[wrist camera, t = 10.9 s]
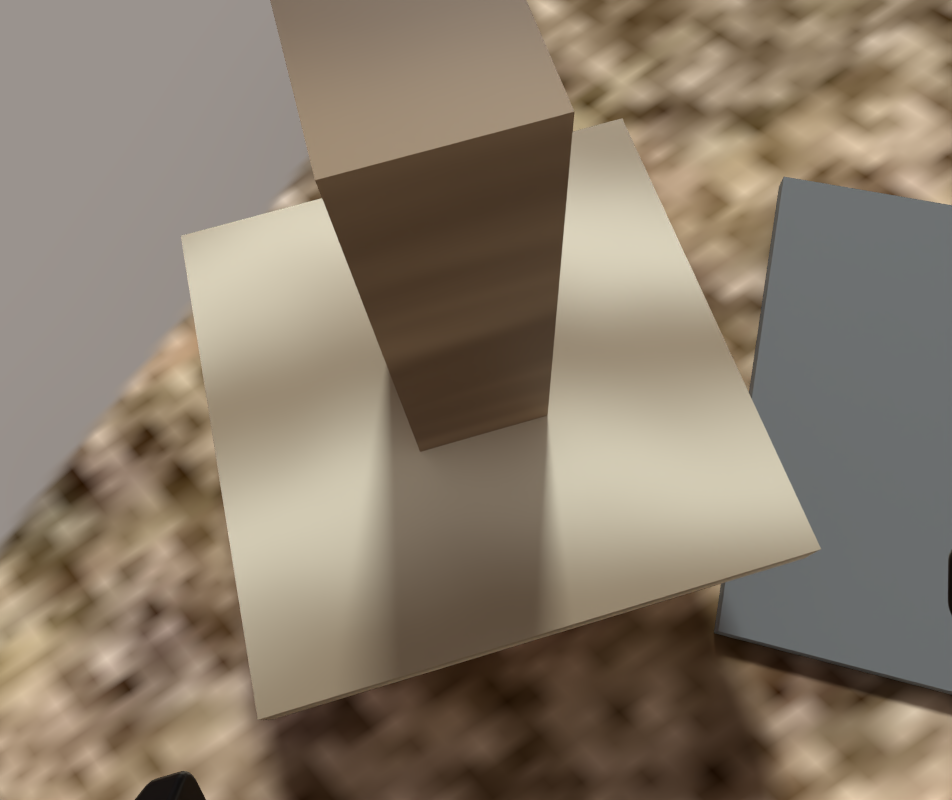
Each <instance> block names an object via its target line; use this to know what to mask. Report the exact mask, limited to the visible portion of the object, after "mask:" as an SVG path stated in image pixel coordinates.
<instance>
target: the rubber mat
mask: <svg viewBox="0 0 952 800" xmlns="http://www.w3.org/2000/svg"><path fill="white" fill-rule="evenodd" d="M749 394H750V396H751V399H752V401H753V403H754V405H755V407H756V409H757V412H758V414H759V416H760V418H761V420H762V422H763V424H764V427H765V429H766V431H767V433H768V435H769V437H770V440H771V442H772V444H773V446H774V448H775V450H776V453H777V455H778V457H779V459H780V461H781V463H782V466H783V468H784V470H785V472H786V474H787V476H788V479H789V481H790V483H791V485H792V487H793V489H794V492H795V494H796V496H797V498H798V500H799V502H800V505H801V507H802V509H803V511H804V513H805V515H806V518H807V520H808V522H809V524H810V526H811V528H812V530H813V533H814V535H815V537H816V539H817V541H818V543H819V546H820V548H821V550H819V551H817V552H815V553H813V554H811V555H810V556H808V557H806V558H804V559H800V560H797V561H794V562H791V563H787V564H784V565H781V566H777V567H774V568H771V569H767V570H764V571H761V572H758V573H754V574H751V575H748V576H744V577H741V578H738V579H734V580H731V581H728V582H725V583H721V588H720V595H719V602H718V609H717V616H716V623H715V629H714V633H716V634H720V635H724V636H727V637H731V638H735V639H739V640H743V641H747V642H751V643H754V644H758V645H762V646H766V647H770V648H774V649H778V650H781V651H785V652H789V653H793V654H797V655H801V656H805V657H808V658H812V659H816V660H820V661H824V662H828V663H832V664H835V665H839V666H843V667H847V668H851V669H855V670H859V671H862V672H866V673H870V674H874V675H878V676H882V677H886V678H889V679H893V680H897V681H901V682H905V683H909V684H913V685H916V686H920V687H924V688H928V689H932V690H936V691H940V692H943V693H947V694H951V695H952V615H951V613H950V610H949V606H948V557H949V553H950V551H951V549H952V205H946V204H941V203H935V202H929V201H923V200H917V199H911V198H905V197H900V196H894V195H888V194H882V193H876V192H870V191H865V190H859V189H853V188H847V187H841V186H835V185H829V184H824V183H818V182H812V181H806V180H800V179H794V178H789V177H783V179H782V182H781V184H780V186H779V191H778V198H777V205H776V211H775V218H774V225H773V232H772V239H771V246H770V253H769V259H768V266H767V273H766V280H765V287H764V294H763V301H762V307H761V314H760V321H759V328H758V335H757V342H756V349H755V355H754V362H753V369H752V376H751V383H750V390H749Z"/></svg>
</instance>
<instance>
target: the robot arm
mask: <svg viewBox="0 0 952 800" xmlns="http://www.w3.org/2000/svg"><path fill="white" fill-rule="evenodd" d="M948 606H949V610H950V613H951V615H952V549H951V551H950V553H949V557H948ZM135 800H206V799H205V797H204V795H203V793H202V791H201V789H200V787H199V785H198V783H197V781H196V779H195V778H194V777H193V775H192V774H191V773H189V772H187V771H181V772H177V773H174V774H170V775H167V776H164V777H160V778H157V779H155V780H152V781H151V782H149V783H148V784H147V785H146V786H145V788H144V789H143V790H142V791H141V792H140V794H139V795H138V796H137V797H136V799H135Z"/></svg>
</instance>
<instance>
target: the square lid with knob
mask: <svg viewBox="0 0 952 800" xmlns="http://www.w3.org/2000/svg"><path fill="white" fill-rule="evenodd" d="M270 1H271V5H272V9H273V13H274V17H275V21H276V25H277V29H278V33H279V37H280V41H281V45H282V49H283V53H284V57H285V61H286V65H287V69H288V73H289V77H290V81H291V85H292V89H293V93H294V97H295V101H296V105H297V109H298V113H299V117H300V121H301V125H302V129H303V133H304V137H305V141H306V145H307V149H308V153H309V157H310V161H311V165H312V169H313V173H314V178H315V181H316V184H317V186H318V189H319V191H320V194H321V197H322V199H318V200H314V201H310V202H307V203H303V204H299V205H295V206H292V207H288V208H284V209H280V210H276V211H273V212H269V213H265V214H261V215H258V216H254V217H250V218H247V219H243V220H239V221H235V222H231V223H228V224H224V225H220V226H216V227H213V228H209V229H205V230H201V231H198V232H194V233H190V234H186V235H183V236H181V239H182V246H183V252H184V258H185V265H186V271H187V277H188V284H189V289H190V296H191V302H192V309H193V315H194V321H195V328H196V334H197V340H198V347H199V353H200V359H201V365H202V372H203V378H204V384H205V391H206V397H207V403H208V410H209V416H210V422H211V428H212V435H213V441H214V447H215V454H216V460H217V466H218V473H219V479H220V485H221V491H222V498H223V504H224V510H225V517H226V523H227V529H228V536H229V542H230V548H231V555H232V561H233V567H234V573H235V580H236V586H237V592H238V599H239V605H240V611H241V618H242V624H243V630H244V636H245V643H246V649H247V655H248V662H249V668H250V674H251V681H252V687H253V693H254V699H255V706H256V712H257V718H258V720H273V719H276V718H279V717H283V716H286V715H289V714H293V713H296V712H299V711H302V710H306V709H309V708H312V707H316V706H319V705H322V704H326V703H329V702H332V701H335V700H339V699H342V698H345V697H349V696H352V695H355V694H359V693H362V692H365V691H368V690H372V689H375V688H378V687H382V686H385V685H388V684H392V683H395V682H398V681H401V680H405V679H408V678H411V677H415V676H418V675H421V674H424V673H428V672H431V671H434V670H438V669H441V668H444V667H448V666H451V665H454V664H457V663H461V662H464V661H467V660H471V659H474V658H477V657H481V656H484V655H487V654H490V653H494V652H497V651H500V650H504V649H507V648H510V647H514V646H517V645H520V644H523V643H527V642H530V641H533V640H537V639H540V638H543V637H547V636H550V635H553V634H556V633H560V632H563V631H566V630H570V629H573V628H576V627H579V626H583V625H586V624H589V623H593V622H596V621H599V620H603V619H606V618H609V617H612V616H616V615H619V614H622V613H626V612H629V611H632V610H636V609H639V608H642V607H645V606H649V605H652V604H655V603H659V602H662V601H665V600H669V599H672V598H675V597H678V596H682V595H685V594H688V593H692V592H695V591H698V590H702V589H705V588H708V587H711V586H715V585H718V584H721V583H725V582H728V581H731V580H734V579H738V578H741V577H744V576H748V575H751V574H754V573H758V572H761V571H764V570H767V569H771V568H774V567H777V566H781V565H784V564H787V563H791V562H794V561H797V560H800V559H804V558H806V557H808V556H810V555H811V554H813V553H815V552H817V551H819V550H821V548H820V546H819V543H818V541H817V539H816V537H815V535H814V533H813V530H812V528H811V526H810V524H809V522H808V520H807V518H806V515H805V513H804V511H803V509H802V507H801V505H800V502H799V500H798V498H797V496H796V494H795V492H794V489H793V487H792V485H791V483H790V481H789V479H788V476H787V474H786V472H785V470H784V468H783V466H782V463H781V461H780V459H779V457H778V455H777V453H776V450H775V448H774V446H773V444H772V442H771V440H770V437H769V435H768V433H767V431H766V429H765V427H764V424H763V422H762V420H761V418H760V416H759V414H758V412H757V409H756V407H755V405H754V403H753V401H752V399H751V396H750V394H749V392H748V390H747V388H746V386H745V383H744V381H743V379H742V377H741V375H740V373H739V370H738V368H737V366H736V364H735V362H734V360H733V357H732V355H731V353H730V351H729V349H728V347H727V344H726V342H725V340H724V338H723V336H722V334H721V331H720V329H719V327H718V325H717V323H716V321H715V318H714V316H713V314H712V312H711V310H710V308H709V305H708V303H707V301H706V299H705V297H704V295H703V293H702V290H701V288H700V286H699V284H698V282H697V280H696V277H695V275H694V273H693V271H692V269H691V267H690V264H689V262H688V260H687V258H686V256H685V254H684V251H683V249H682V247H681V245H680V243H679V241H678V238H677V236H676V234H675V232H674V230H673V228H672V225H671V223H670V221H669V219H668V217H667V215H666V212H665V210H664V208H663V206H662V204H661V202H660V199H659V197H658V195H657V193H656V191H655V189H654V186H653V184H652V182H651V180H650V178H649V176H648V174H647V171H646V169H645V167H644V165H643V163H642V161H641V158H640V156H639V154H638V152H637V150H636V148H635V145H634V143H633V141H632V139H631V137H630V135H629V132H628V130H627V128H626V126H625V124H624V122H623V119H619V120H615V121H611V122H607V123H604V124H600V125H596V126H592V127H589V128H585V129H581V130H577V131H574V132H573V121H574V110H573V107H572V105H571V103H570V100H569V98H568V96H567V94H566V91H565V89H564V87H563V84H562V82H561V80H560V77H559V75H558V73H557V70H556V68H555V66H554V63H553V61H552V59H551V57H550V54H549V52H548V50H547V47H546V45H545V43H544V40H543V38H542V36H541V33H540V31H539V29H538V27H537V24H536V22H535V20H534V17H533V15H532V13H531V10H530V8H529V6H528V3H527V1H526V0H270Z"/></svg>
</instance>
